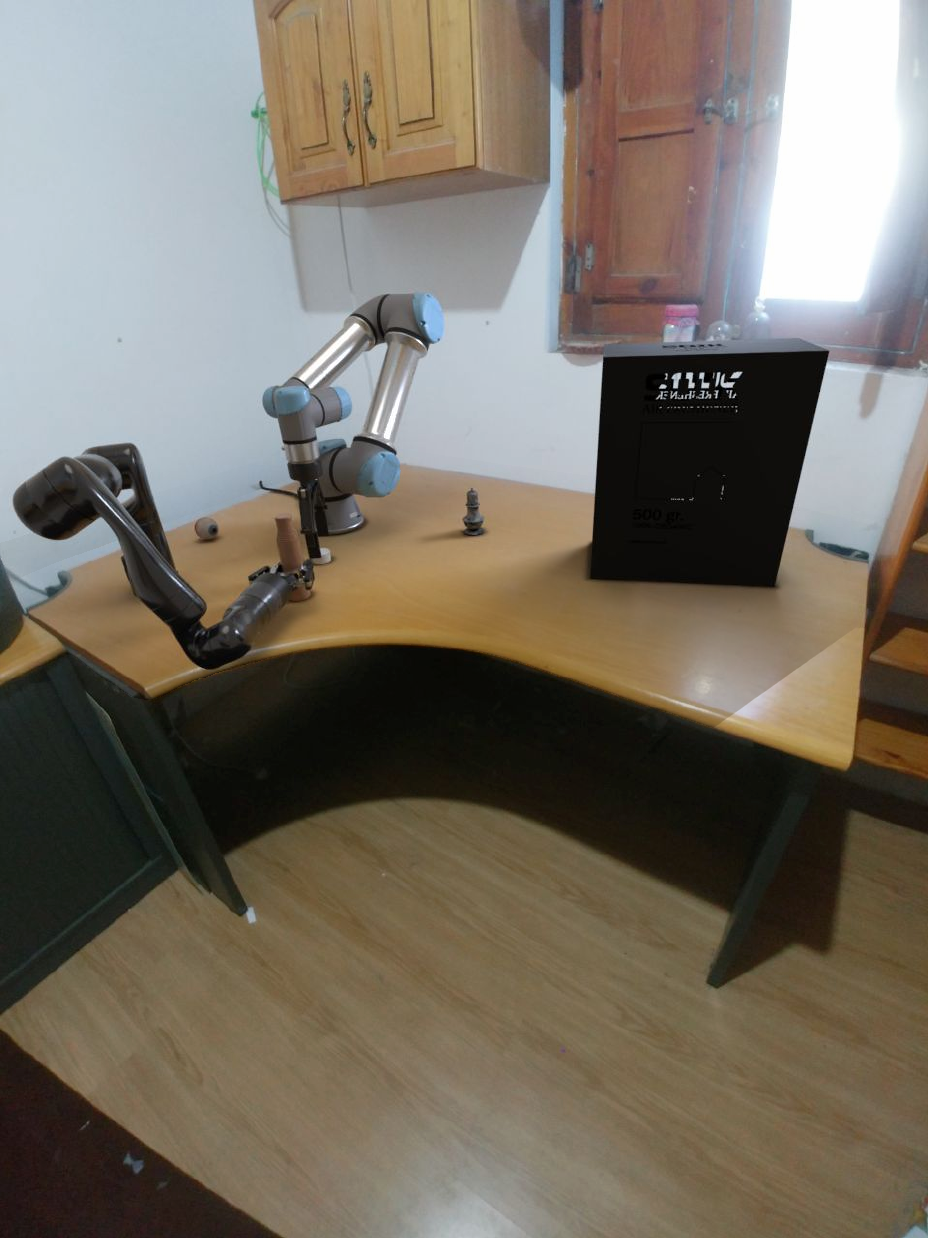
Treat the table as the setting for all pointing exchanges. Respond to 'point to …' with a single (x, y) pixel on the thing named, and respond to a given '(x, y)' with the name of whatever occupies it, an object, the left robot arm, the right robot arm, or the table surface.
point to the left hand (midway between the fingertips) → (298, 562)
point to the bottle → (290, 551)
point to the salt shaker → (473, 515)
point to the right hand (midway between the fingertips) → (319, 546)
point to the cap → (323, 557)
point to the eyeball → (206, 528)
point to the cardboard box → (701, 458)
